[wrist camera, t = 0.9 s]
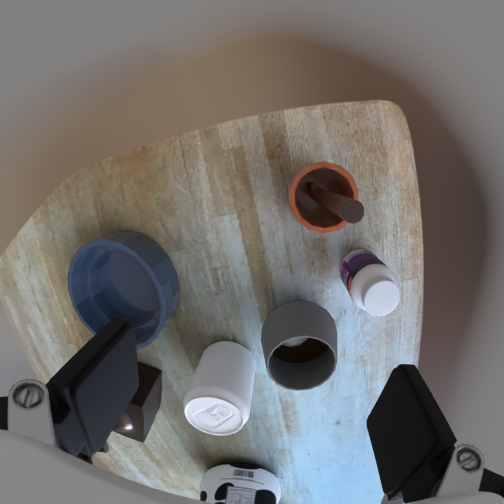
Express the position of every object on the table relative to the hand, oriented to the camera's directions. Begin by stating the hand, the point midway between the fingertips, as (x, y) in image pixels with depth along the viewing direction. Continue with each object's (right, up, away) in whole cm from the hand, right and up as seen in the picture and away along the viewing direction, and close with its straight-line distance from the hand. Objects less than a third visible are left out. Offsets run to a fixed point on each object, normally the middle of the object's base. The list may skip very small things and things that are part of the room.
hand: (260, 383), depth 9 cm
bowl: (-18, 0, +30) cm, 35 cm away
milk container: (-2, -45, +41) cm, 61 cm away
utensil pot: (+7, +12, +25) cm, 28 cm away
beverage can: (-4, -12, +32) cm, 34 cm away
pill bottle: (+13, +2, +27) cm, 30 cm away
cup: (+6, -5, +29) cm, 30 cm away
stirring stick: (+7, +11, +24) cm, 28 cm away
